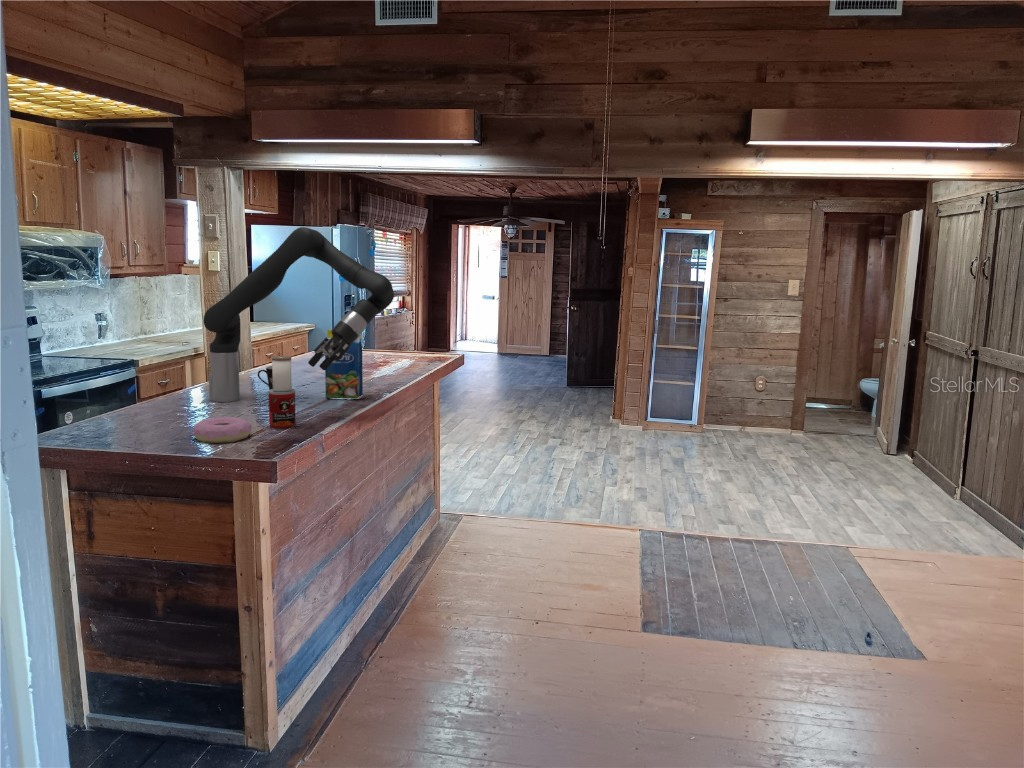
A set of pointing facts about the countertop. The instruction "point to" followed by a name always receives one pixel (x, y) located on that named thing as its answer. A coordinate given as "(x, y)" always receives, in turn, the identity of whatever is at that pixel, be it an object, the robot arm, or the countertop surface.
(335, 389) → the blue food package
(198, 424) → the donut
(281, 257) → the robot arm
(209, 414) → the countertop surface
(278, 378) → the brown-lidded white canister
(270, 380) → the coffee mug
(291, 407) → the canned food
